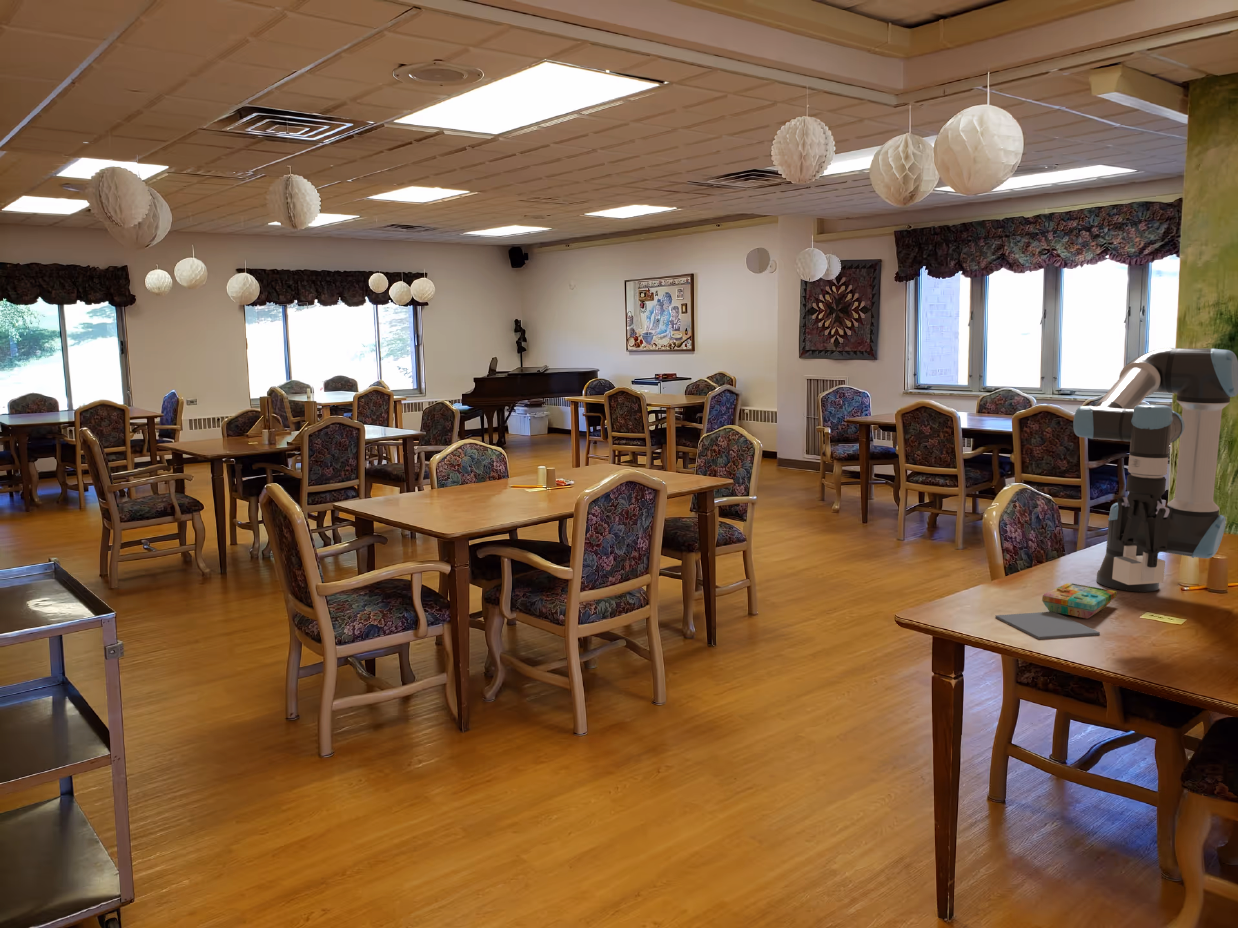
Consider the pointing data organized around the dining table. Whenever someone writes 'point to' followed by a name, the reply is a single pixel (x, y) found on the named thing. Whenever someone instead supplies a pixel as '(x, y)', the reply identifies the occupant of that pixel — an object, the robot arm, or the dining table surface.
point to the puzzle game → (1078, 599)
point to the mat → (1047, 625)
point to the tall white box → (1135, 570)
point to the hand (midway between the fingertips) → (1137, 576)
